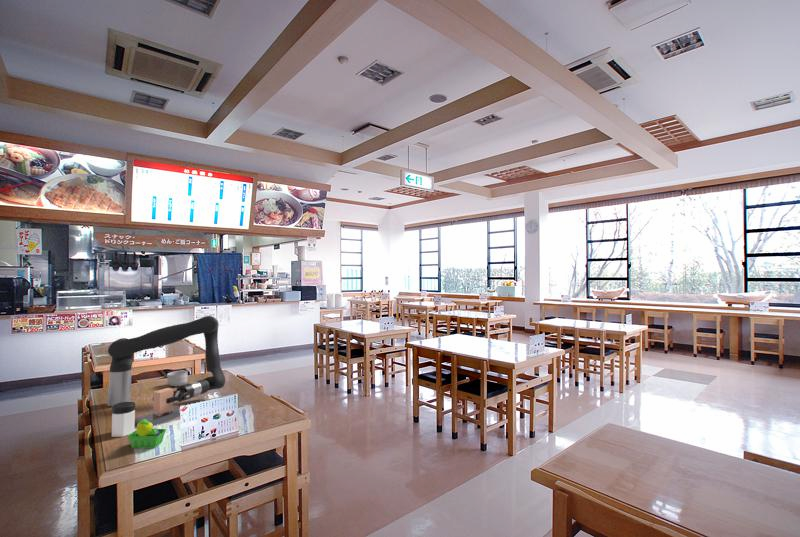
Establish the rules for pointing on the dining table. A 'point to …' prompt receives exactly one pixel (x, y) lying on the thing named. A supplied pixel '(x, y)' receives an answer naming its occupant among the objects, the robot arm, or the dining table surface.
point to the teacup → (177, 378)
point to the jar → (123, 419)
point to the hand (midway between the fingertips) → (160, 400)
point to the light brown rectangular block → (162, 401)
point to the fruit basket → (146, 435)
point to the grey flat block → (160, 419)
